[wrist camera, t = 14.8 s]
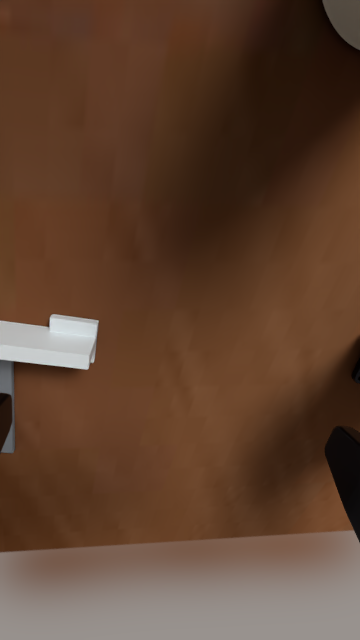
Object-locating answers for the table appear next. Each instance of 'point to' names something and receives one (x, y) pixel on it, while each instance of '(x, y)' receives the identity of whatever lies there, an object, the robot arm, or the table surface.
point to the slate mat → (3, 381)
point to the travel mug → (345, 19)
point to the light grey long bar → (51, 342)
